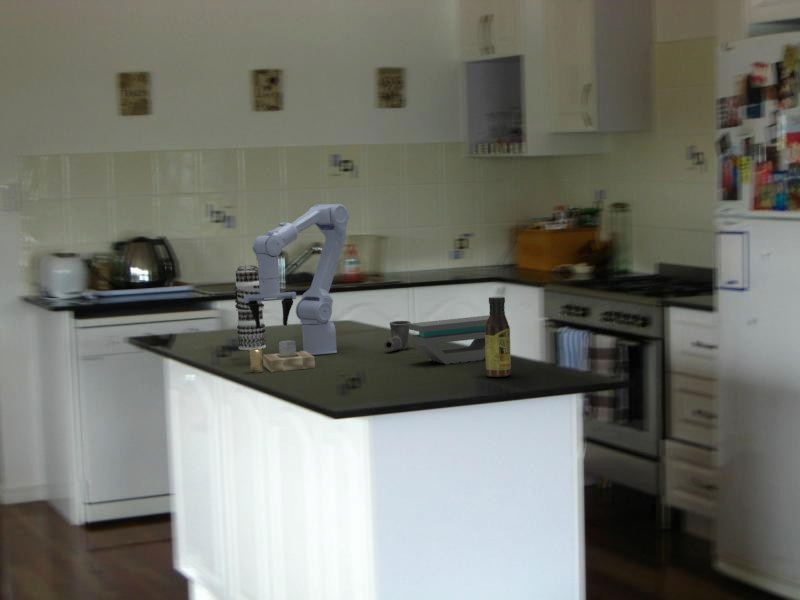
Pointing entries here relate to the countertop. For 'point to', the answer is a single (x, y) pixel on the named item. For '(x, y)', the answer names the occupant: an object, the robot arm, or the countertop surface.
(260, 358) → the cylinder
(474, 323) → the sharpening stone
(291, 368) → the socket block
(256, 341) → the decorative candle
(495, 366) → the sauce bottle
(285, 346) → the square bit
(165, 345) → the countertop surface
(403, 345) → the pipe
